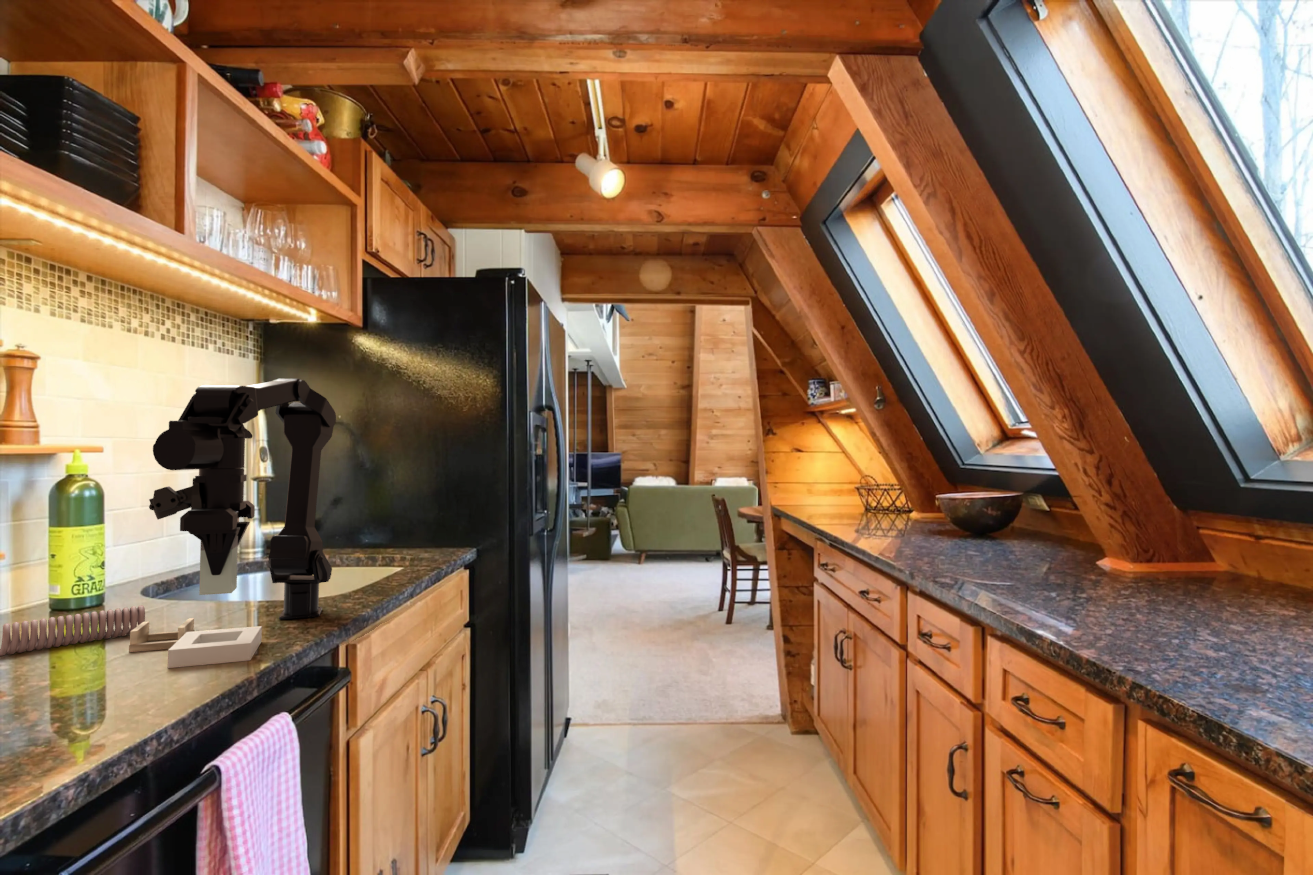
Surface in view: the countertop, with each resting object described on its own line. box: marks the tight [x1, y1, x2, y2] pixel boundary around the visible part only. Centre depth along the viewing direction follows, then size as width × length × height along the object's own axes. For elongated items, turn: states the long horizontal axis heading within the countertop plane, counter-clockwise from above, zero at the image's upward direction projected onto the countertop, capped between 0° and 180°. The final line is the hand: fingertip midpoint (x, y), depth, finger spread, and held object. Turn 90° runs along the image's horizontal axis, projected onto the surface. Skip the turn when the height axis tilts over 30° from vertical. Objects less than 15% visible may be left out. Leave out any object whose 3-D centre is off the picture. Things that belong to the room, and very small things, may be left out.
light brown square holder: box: [128, 617, 195, 653], centre depth 104 cm, size 7×7×3 cm
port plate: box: [167, 625, 263, 669], centre depth 100 cm, size 10×10×2 cm
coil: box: [0, 605, 146, 657], centre depth 105 cm, size 5×5×18 cm
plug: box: [198, 536, 239, 596], centre depth 100 cm, size 4×4×8 cm
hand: (219, 572), depth 100 cm, fingers closed on plug, 4 cm apart
